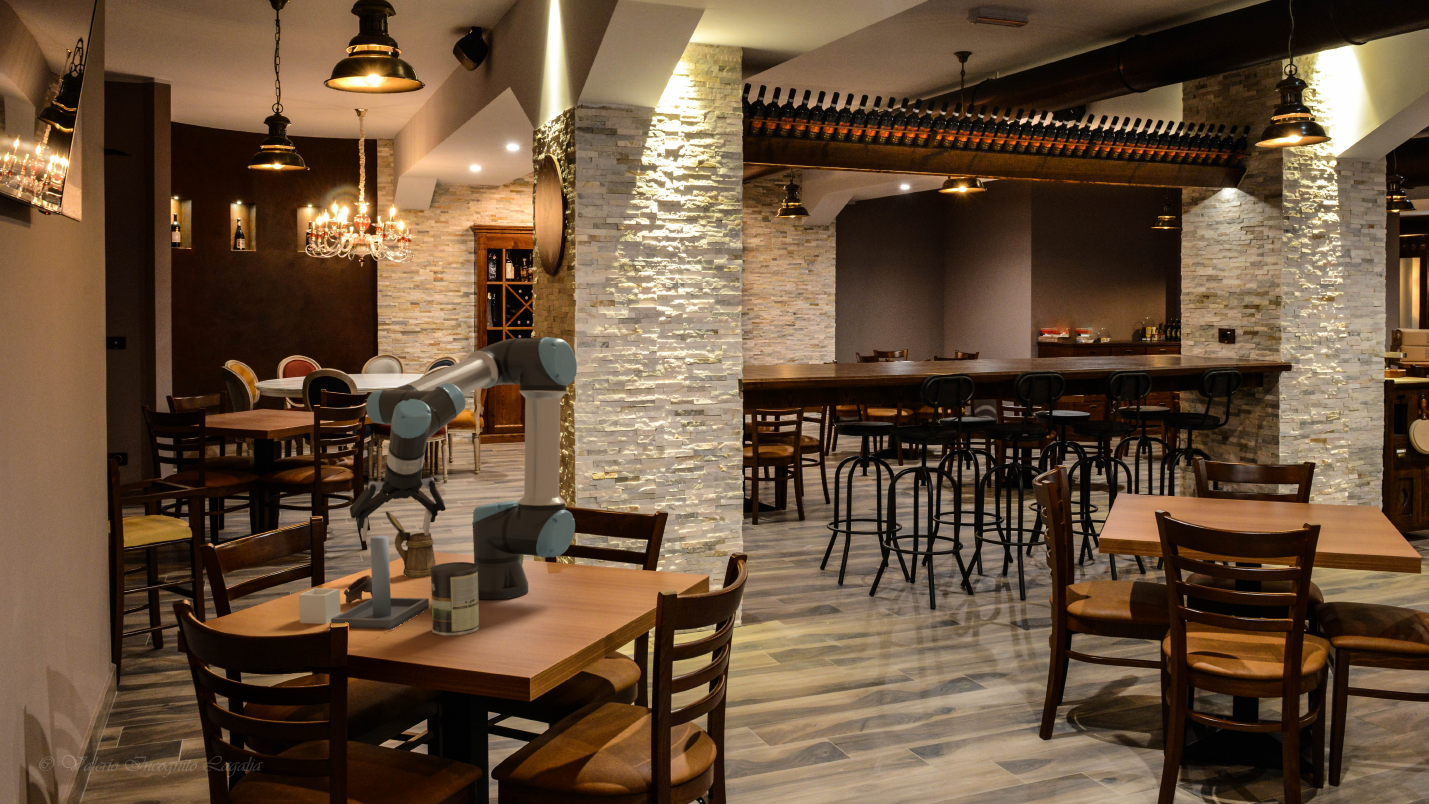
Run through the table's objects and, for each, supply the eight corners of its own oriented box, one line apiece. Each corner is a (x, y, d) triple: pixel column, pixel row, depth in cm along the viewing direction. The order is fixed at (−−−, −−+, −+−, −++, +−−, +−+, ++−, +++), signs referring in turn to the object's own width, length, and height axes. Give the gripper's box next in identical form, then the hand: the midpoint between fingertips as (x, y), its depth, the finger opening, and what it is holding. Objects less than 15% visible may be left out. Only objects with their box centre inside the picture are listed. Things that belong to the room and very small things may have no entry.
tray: (429, 608, 246) (428, 598, 246) (390, 631, 226) (390, 620, 226) (374, 607, 248) (373, 597, 248) (331, 629, 228) (330, 618, 228)
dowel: (394, 612, 238) (391, 535, 238) (386, 617, 235) (383, 539, 234) (378, 612, 239) (375, 535, 238) (369, 616, 235) (367, 539, 234)
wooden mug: (389, 572, 288) (387, 508, 287) (439, 570, 290) (437, 506, 289) (384, 579, 279) (382, 513, 278) (436, 576, 281) (434, 511, 280)
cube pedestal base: (340, 618, 238) (339, 588, 237) (326, 626, 231) (325, 595, 231) (315, 618, 239) (314, 588, 238) (299, 625, 232) (298, 594, 232)
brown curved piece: (386, 611, 246) (367, 584, 244) (353, 627, 247) (334, 601, 245) (400, 587, 258) (381, 561, 255) (368, 603, 259) (350, 577, 257)
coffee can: (427, 636, 221) (425, 572, 221) (437, 624, 232) (435, 562, 231) (476, 635, 222) (474, 570, 221) (483, 622, 232) (481, 561, 232)
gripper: (345, 480, 210) (338, 551, 222) (466, 472, 222) (453, 540, 234) (340, 455, 215) (334, 526, 227) (459, 449, 227) (447, 517, 239)
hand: (394, 533), depth 230 cm, fingers open, 13 cm apart
